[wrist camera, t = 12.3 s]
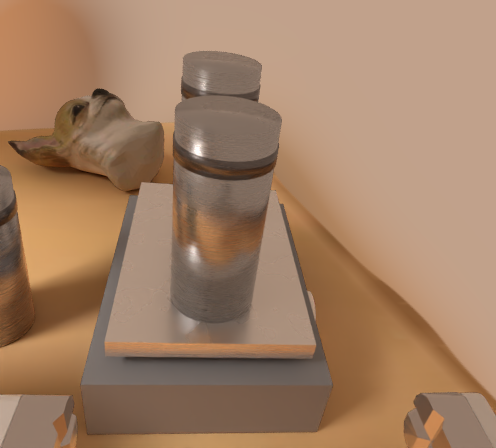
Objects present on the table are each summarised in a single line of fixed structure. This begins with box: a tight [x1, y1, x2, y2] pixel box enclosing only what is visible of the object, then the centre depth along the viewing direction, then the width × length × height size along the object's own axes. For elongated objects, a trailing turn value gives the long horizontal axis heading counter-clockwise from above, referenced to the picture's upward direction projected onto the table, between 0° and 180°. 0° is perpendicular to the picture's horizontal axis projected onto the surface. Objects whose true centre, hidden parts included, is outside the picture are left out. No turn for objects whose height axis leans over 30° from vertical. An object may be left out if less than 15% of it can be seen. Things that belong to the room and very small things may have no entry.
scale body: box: [80, 195, 333, 434], centre depth 30 cm, size 12×17×4 cm
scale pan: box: [104, 182, 316, 359], centre depth 28 cm, size 10×15×1 cm, turn 5°
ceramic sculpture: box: [8, 89, 164, 191], centre depth 44 cm, size 11×9×15 cm
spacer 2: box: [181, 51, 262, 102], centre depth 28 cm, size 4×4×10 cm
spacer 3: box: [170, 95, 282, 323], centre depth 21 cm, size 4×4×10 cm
